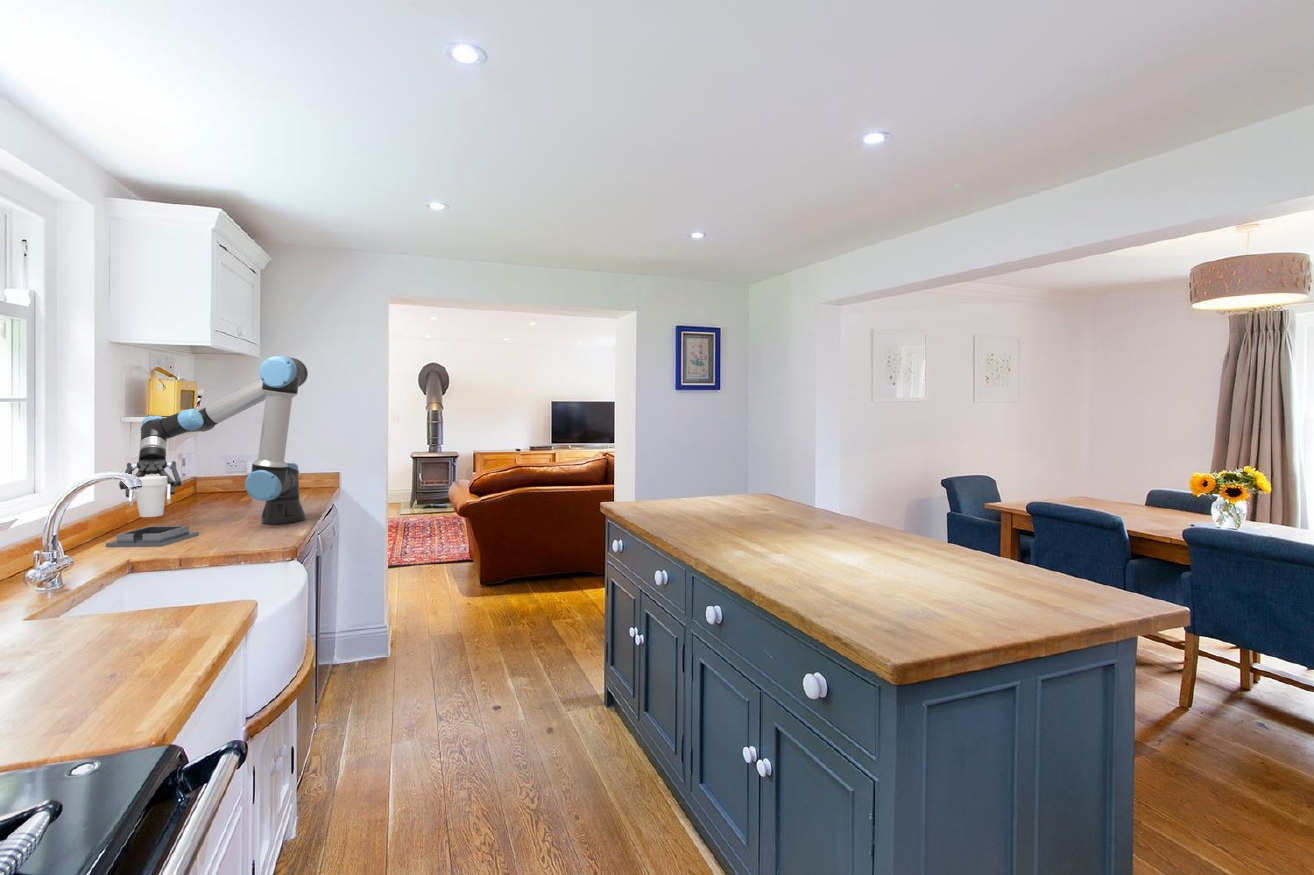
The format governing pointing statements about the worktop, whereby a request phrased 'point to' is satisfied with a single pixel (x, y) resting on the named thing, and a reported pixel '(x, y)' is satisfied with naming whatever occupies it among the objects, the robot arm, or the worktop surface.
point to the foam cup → (151, 496)
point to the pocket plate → (152, 536)
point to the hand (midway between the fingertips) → (149, 502)
